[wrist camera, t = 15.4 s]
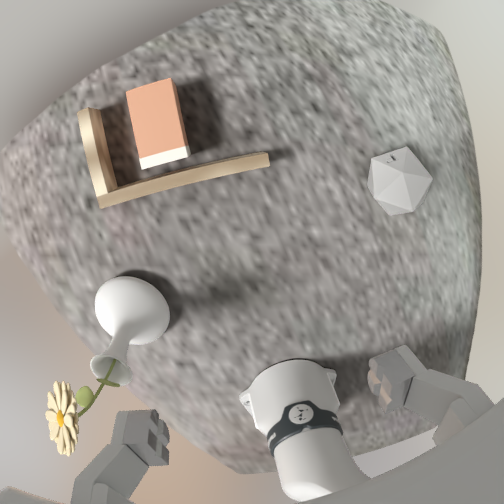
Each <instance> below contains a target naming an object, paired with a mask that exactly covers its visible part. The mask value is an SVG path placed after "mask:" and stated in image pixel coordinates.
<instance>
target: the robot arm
mask: <svg viewBox="0 0 504 504" xmlns="http://www.w3.org/2000/svg"><path fill="white" fill-rule="evenodd" d="M369 366H370V368H371V369H370V371H369V372H368V377H367V379H368V385H369V387H370V390H371V391H372V393H373V394H374V395H376V396H379V399H378V403H379V405H380V407H381V408H382V410H383V412H384V413H385V414H387V413H389V412H391V411H394V410H396V409H398V408H401V407H403V406H404V407H405V408H406V409H408V410H410V411H412V412H414V413H416V414H417V415H419V416H421V417H423V418H425V419H427V420H429V421H431V422H433V423H435V424H436V425H438V428H437V430H436V431H435V433H434V435H433V438H432V439H433V440H434V442H435V444H436V445H437V446H436V447H434V448H432V449H430V450H429V451H427V452H425V453H423V454H422V455H420V456H418V457H416V458H414V459H412V460H410V461H408V462H407V463H404V464H403V465H400V466H398V467H396V468H394V469H392V470H390V471H388V472H386V473H384V474H381V475H379V476H376V477H374V478H372V479H371V478H370V477H368V476H366V474H364V473H363V472H362V471H361V470H360V469H359V467H358V466H357V465H356V463H355V461H354V459H353V458H352V456H351V454H350V452H349V450H348V448H347V446H346V444H345V442H344V439H343V437H342V435H343V431H342V428H341V424H340V421H339V420H338V418H337V416H336V413H337V411H338V407H339V406H340V402H339V400H338V397H337V394H336V392H335V389H334V383H335V380H336V376H337V375H336V372H335V370H333V369H327V368H323V367H321V366H320V365H318V364H317V363H315V362H312V361H308V360H290V361H285V362H281V363H278V364H276V365H273V366H271V367H269V368H268V369H266V370H264V371H263V372H262V373H260V374H259V375H258V376H257V377H256V378H255V380H254V381H253V383H252V384H251V386H250V387H249V388H248V389H247V390H245V391H244V392H242V393H241V394H240V395H239V399H240V402H241V403H242V404H243V405H244V407H245V408H246V409H247V410H248V412H249V413H250V414H251V415H252V417H253V418H254V422H255V426H256V428H257V429H259V430H260V431H261V432H262V433H263V434H264V435H265V436H266V437H267V440H268V447H269V450H270V452H271V455H272V456H273V457H274V458H275V461H276V465H277V470H278V474H279V477H280V481H281V486H282V489H283V491H284V492H285V493H286V494H287V495H288V496H289V497H290V498H292V499H294V500H296V501H300V502H299V503H295V504H504V398H503V399H501V400H500V401H499V402H498V403H497V404H496V405H494V403H493V402H492V401H491V400H490V398H489V397H488V396H487V395H486V394H485V393H484V391H483V390H482V389H481V388H480V387H479V386H478V384H474V383H471V382H468V381H465V380H462V379H459V378H456V377H453V376H450V375H447V374H444V373H441V372H438V371H436V370H433V369H429V370H427V369H426V368H425V367H424V365H423V364H422V363H421V362H420V361H419V359H418V358H417V357H416V356H415V355H414V353H413V352H412V351H411V350H410V349H409V348H408V346H406V345H402V346H400V347H397V348H395V349H392V350H389V351H387V352H385V353H382V354H380V355H377V356H375V357H372V358H371V359H370V360H369ZM168 443H169V430H168V427H167V425H166V423H165V422H164V421H163V420H161V419H159V414H158V412H157V411H156V410H155V409H154V410H138V411H137V410H136V411H119V412H118V413H117V415H116V419H115V424H114V429H113V434H112V439H111V444H107V446H106V447H105V448H104V449H103V450H102V451H101V452H100V453H99V454H98V455H97V456H96V457H95V458H94V460H92V462H91V463H90V464H89V465H88V466H87V467H86V468H85V469H84V470H83V471H82V472H81V473H80V474H79V476H77V477H76V479H75V482H74V487H73V492H72V498H71V504H135V503H134V502H132V501H130V500H129V498H130V496H131V495H132V493H133V492H134V490H135V489H136V487H137V485H138V484H139V482H140V481H141V479H142V478H143V476H144V475H145V473H146V471H147V470H148V468H149V466H162V465H169V451H168V449H167V448H166V446H167V444H168ZM0 504H64V503H60V502H56V501H52V500H49V499H46V498H42V497H39V496H36V495H33V494H30V493H27V492H25V491H22V490H19V489H17V488H14V487H9V486H8V487H5V488H3V489H2V490H1V491H0Z"/></svg>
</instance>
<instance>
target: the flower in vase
mask: <svg viewBox="0 0 504 504" xmlns="http://www.w3.org/2000/svg"><path fill="white" fill-rule="evenodd" d="M95 311H96V315H97V318H98V320H99V322H100V324H101V326H102V327H103V328H104V329H105V330H106V331H107V332H108V333H109V334H110V335H111V336H113V338H112V341H111V343H110V345H109V347H108V348H107V350H106V351H105V352H104V353H103V354H99V355H96V356H95V357H93V358H92V360H91V362H90V367H91V370H92V372H93V373H94V375H95V376H96V377H97V378H98V379H97V381H99V382H101V383H102V384H101V385H100V387H99V389H98V390H97V392H96V394H95V395H93V392H92V391H91V389H90V388H89V387H88V386H84V387H82V388H80V389H79V390H78V392H77V393H76V397H75V398H74V393H73V391H72V390H71V387H70V384H69V383H67V385H66V384H65V382H64V381H62V384H60V382H58V381H55V383H54V394H55V397H54V396H53V394H52V393H51V392H50V391H49V392H48V399H49V401H48V408H49V409H50V410H48V411H46V419H47V420H48V421H50V422H49V429H50V430H51V431H50V439H51V440H52V441H53V440H55V442H56V443H57V449H58V452H59V453H60V454H61V455H62V454H63V453H64V454H66V453H67V456H70V455H71V452H72V453H73V452H74V450H75V444H77V442H78V437H77V434H78V433H79V426H78V424H77V423H78V418H79V417H80V416H81V415H83V414H84V413H85V412H86V411H87V410H88V409H89V408H90V407H91V405H92V404H93V403H94V401H95V399H96V398H97V396H98V395H99V393H100V391H101V390H102V388H103V386H104V385H109V386H113V387H119V386H124V385H127V384H128V383H130V382H131V380H132V371H131V369H130V367H129V366H128V364H127V350H128V346H129V344H135V345H141V344H147V343H150V342H153V341H155V340H156V339H158V338H159V337H160V336H161V335H162V334H163V333H164V332H165V330H166V329H167V327H168V325H169V321H170V311H169V307H168V304H167V302H166V300H165V298H164V297H163V295H162V294H161V293H160V292H159V291H158V290H157V289H156V288H155V287H154V286H152V285H151V284H149V283H148V282H146V281H144V280H141V279H138V278H135V277H129V276H121V277H115V278H112V279H110V280H108V281H106V282H105V283H104V284H103V285H102V286H101V287H100V288H99V290H98V292H97V294H96V297H95ZM77 403H78V404H79V405H80V406H82V407H85V408H84V409H83V410H82V411H81V412H79V413H78V414H77V412H76V410H77Z"/></svg>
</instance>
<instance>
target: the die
mask: <svg viewBox="0 0 504 504" xmlns="http://www.w3.org/2000/svg"><path fill="white" fill-rule="evenodd" d="M432 180H433V178H432V177H431V175H430V174H429V173H428V171H427V170H426V169H425V168H424V166H423V165H422V164H421V162H420V161H419V160H418V159H417V158H416V156H415V155H414V154H413V153H412V151H411V150H410V149H409V148H408V147H404V148H401V149H397V150H394V151H391V152H388V153H385V154H383V155H380V156H377V157H374V158H371V164H370V171H369V176H368V182H367V186H368V188H369V190H370V192H371V194H372V195H373V197H374V199H375V200H376V201H377V202H378V203H379V204H380V205H381V207H382V208H383V209H384V210H385V211H386V212H387V213H388V214H389V215H396V214H402V213H408V212H413V211H415V210H416V209H417V208H418V207H420V206H421V205H422V204H423V202H424V200H425V197H426V195H427V192H428V190H429V187H430V185H431V182H432Z"/></svg>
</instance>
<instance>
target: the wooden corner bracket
mask: <svg viewBox="0 0 504 504" xmlns="http://www.w3.org/2000/svg"><path fill="white" fill-rule="evenodd" d="M77 114H78V120H79V125H80V130H81V135H82V140H83V145H84V149H85V154H86V158H87V162H88V166H89V170H90V174H91V178H92V182H93V185H94V189H95V193H96V196H97V200H98V203H99V206H100V209H102V208H105V207H108V206H112V205H115V204H118V203H121V202H125V201H128V200H131V199H135V198H138V197H142V196H145V195H149V194H152V193H156V192H160V191H163V190H167V189H171V188H175V187H178V186H182V185H186V184H190V183H194V182H198V181H203V180H207V179H211V178H215V177H220V176H224V175H229V174H233V173H238V172H243V171H248V170H253V169H258V168H263V167H268V166H270V163H269V158H268V153H265V152H256V153H251V154H246V155H241V156H236V157H231V158H227V159H222V160H217V161H213V162H209V163H204V164H200V165H196V166H192V167H188V168H184V169H180V170H176V171H172V172H169V173H165V174H161V175H158V176H154V177H151V178H147V179H144V180H140V181H137V182H134V183H130V184H127V185H124V186H121V187H118V186H117V182H116V178H115V175H114V171H113V167H112V163H111V159H110V154H109V150H108V146H107V141H106V137H105V132H104V127H103V122H102V117H101V112H100V110H98V109H93V108H89V107H88V108H85V109H83V110H81V111H78V112H77Z"/></svg>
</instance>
